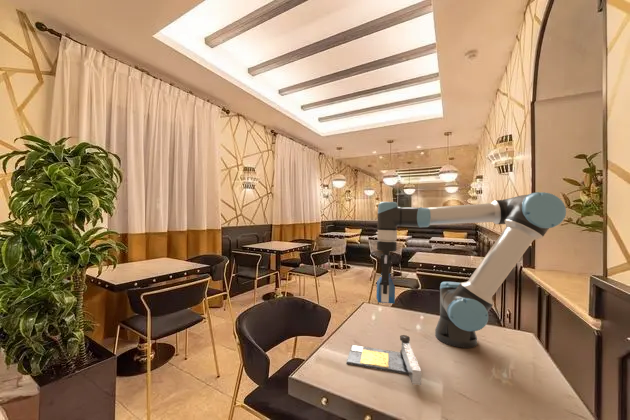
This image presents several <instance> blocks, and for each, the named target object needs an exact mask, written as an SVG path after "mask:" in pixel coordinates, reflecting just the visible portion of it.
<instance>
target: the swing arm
mask: <svg viewBox="0 0 630 420" xmlns="http://www.w3.org/2000/svg"><path fill="white" fill-rule="evenodd" d="M399 339H400V341H401V346H400V347H401V349H400V350H401V352H402V355H403V358H404V361H405V364H406V367H407V370H408V373H409V375H408V377H409V379H410V381H411V383H412V385H416V386H417V385H418V386H422V369H421V367H420V365H419V362H418V359H417V358H416V355H415V353H414V350H413V347H412V345H411V343H410V340H411V339H410V336H409V335H405V334H401V335H400V336H399Z"/></svg>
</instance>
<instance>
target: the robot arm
mask: <svg viewBox="0 0 630 420" xmlns="http://www.w3.org/2000/svg"><path fill="white" fill-rule="evenodd" d="M566 216H567V208H566V206H565V203H564V201H563V200H562V199H561V198H560V197H558V195H557V196H556V195H555V194H553V193H549V192H543V191H540V192H539V191H538V192H537V191H536V192H531V193H529V194H524V195H523V194H522V195H518V196H517V195H516V196H515V197H511V198H505V199H496V200H495V199H494V200H492V201H491V202H489V203H476V204H460V205H446V206H445V205H444V206H432V207H431V206H430V207H421V206H420V207H408V206H407V207H403V206H402V207H401V206H399V205H398V202H396V201H380V202H379V203H378V205H377V231H376V232H375V234H376V235H377V237H376V238H377V241H376V249H377V251H379V252H383V253H382V254H381V255H380V259H381V262H380V263H381V273H382V275H381V277H382V282H381V283H380V285H382V290H381V302H387V303H386V304H390V303H389V270H390V271H391V266H392V259H393V258H392V257H393V256H392V255H391V253H393V252H397V247H398V246H397V240H398V230H397V229H398V227H410V228H420V229H421V228H428V227H430V226H437V225H438V226H439V225H440V226H441V225H457V224H458V225H459V224H460V225H461V224H480V223H481V224H482V223H493V224H495V225H505V228H504V229H503V231H501V233H500V235H499V236H498V238H497V239H496V240H495V242H494V243H493V245H492V246H491V248H490V249H489V250H488V252H487V254H485V256H484V258H483V259H482V260H481V262H480V263H479V265H478V266H477V267H476V269H475V270H474V271H473V273H472V274H471V276H470V277H469V279H468V280H467V281H464V282H456V281H442V282H441V283H440V284H439V285H440V286H439V290H440V291H439V319H438V322H437V324H436V327H435V329H434V330H435V332H434V333H435V338H436V339H437V340H439V341H440V342H442V343H444V344H446V345H449V346H453V347H456V348H457V347H458V348H461V349H462V348H463V349H470V348H475V347H476V346H478V336H477V334H476V332H477V331H480V330H482V329H483V328H485V327H486V326H487V325H488V322H489V311H490V310H491V308H492V307H493V306H494V300H493V296H494V295H495V294H496V293H497V291H498V290H499V288H500V286H502V284H503V282H505V280H506V279H507V277H508V276H509V274H510V273H511V272H512V270H513V269H514V268H515V266H517V263H518V262H520V259H521V258H522V256H523V255H524V254H525V253H526V251H527V250H528V249H529V247H530V246H531V244H532V243H533V241H535V240H539V239H543V237H544V236H545V235H546V234H547V232H548V231H549V229H551V228H555V227H557V226H559V225H560V224H561V223H563V221H564V220H565V219H566Z"/></svg>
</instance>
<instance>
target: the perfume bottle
mask: <svg viewBox="0 0 630 420" xmlns="http://www.w3.org/2000/svg"><path fill="white" fill-rule="evenodd" d="M380 275H381V276H379V277H378V280H377V281H376V301H377V303H380V304H381V303H382V304H395V303H396V302H395V301H396V287H395V284H394V281H393V279H392V277H391V269H390V270H389V303H387V302H381V290H382V285H380V283H381V282H382V272H381V274H380Z"/></svg>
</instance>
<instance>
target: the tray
mask: <svg viewBox="0 0 630 420" xmlns="http://www.w3.org/2000/svg"><path fill="white" fill-rule="evenodd" d="M346 365H351V366H356V367H362V368H368V369H374V370H379V371H384V372H391V373H397V374H403V375H407V376H409V373H408V370H407V367H406V364H405V361H404V358H403V355H402V352H401V349H400V350H399V351H394V350H387V349H380V348H375V347H374V348H373V347H369V346H361V345H354V344H351V345H350V349H349V352H348V356H347V359H346Z"/></svg>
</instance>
